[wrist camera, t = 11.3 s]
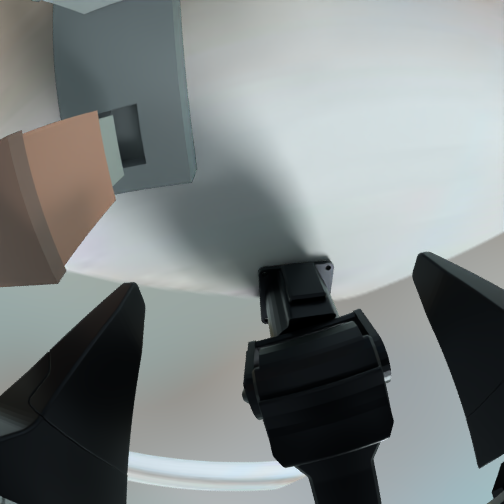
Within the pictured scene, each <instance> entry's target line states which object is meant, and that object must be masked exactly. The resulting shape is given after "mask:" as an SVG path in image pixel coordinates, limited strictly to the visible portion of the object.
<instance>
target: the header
mask: <svg viewBox="0 0 504 504" xmlns="http://www.w3.org/2000/svg"><path fill="white" fill-rule="evenodd" d="M53 52H54V67H55V79H56V88H57V96H58V104H59V111H60V117H61V120H64V119H67V118H71V117H74V116H78V115H81V114H85V113H89V112H93V111H97V112H98V118H99V119H100V118H104V117H107V116H111V115H113V118H114V125H115V130H116V136H117V142H118V147H119V152H120V157H121V162H122V167H123V172H124V176H123V177H122V178H121V179H120V180H119V181H118V182H117V183H116V184H115V185H114V186H112V187H113V191H114V194H120V193H125V192H131V191H137V190H143V189H150V188H156V187H163V186H170V185H177V184H184V183H192V180H193V178H194V175H195V173H196V170H197V166H196V159H195V151H194V143H193V136H192V127H191V119H190V110H189V101H188V92H187V82H186V72H185V61H184V50H183V37H182V24H181V8H180V0H122V1H119V2H116V3H113V4H110V5H107V6H104V7H102V8H99V9H96V10H94V11H91V12H89V13H86V14H82V13H80V12H77V11H74V10H71V9H68V8H65V7H62V6H59V5H56V4H53Z"/></svg>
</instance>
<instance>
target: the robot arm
mask: <svg viewBox="0 0 504 504" xmlns="http://www.w3.org/2000/svg"><path fill="white" fill-rule="evenodd" d="M327 266H329V267H327ZM326 267H327V268H326ZM333 269H334V265H333V264H332V262H331V261H318V262H306V263H296V264H286V265H280V266H270V267H262V268H260V269H259V271H258V277H259V292H260V307H261V320H262V322H263V323H264V324H269V329H270V336H271V338H268V339H264V340H261V341H251V342H249V343H248V351H247V352H246V362H245V372H244V382H243V386H244V390H243V392H242V397H243V400H244V401H245V402H247V403H249V404H250V406H251V409H252V411H253V413H254V415H255V417H256V418H257V419H258V420H261V419H263V422H264V425H265V428H266V431H267V434H268V437H269V441H270V445H271V450H272V454H273V456H274V458H275V459H276V460H277V461H278V462H279V463H280V464H281V465H282V466H283V467H285V468H287V467H293V466H294V467H296V468H297V469H298V470H300V471H301V472H302V473H304V474H305V475H306V476H307V477H308V478H309V481H310V485H311V489H312V493H313V496H314V500H315V504H381V498H380V492H379V486H378V481H377V476H376V471H375V466H374V460H373V458H374V456H375V454H376V451H377V449H378V447H379V445H380V442H381V441H384V440H386V439H389V437H390V435H391V431H392V427H393V423H394V420H393V416H392V413H391V408H390V403H389V397H388V393H387V388H386V383H388V382H390V380H391V368H390V363H389V358H388V355H387V352H386V349H385V346H384V344H383V342H382V340H381V338H380V336H379V334H378V333H377V332H376V330H375V329H374V328H373V326H372V324H371V323H370V322H369V320H368V319H367V317H366V316H365V315H364V313H363V312H362V310H361V309H357V310H354V311H353V312H352V313H349V314H346V315H344V316H341V317H339V315H338V312H337V310H336V307H335V305H334V302H333V300H332V298H331V295H330V293H331V285H332V278H333ZM264 272H266V274H262V273H264ZM412 277H413V281H414V284H415V286H416V289H417V291H418V294H419V296H420V299H421V302H422V304H423V307H424V310H425V313H426V315H427V318H428V320H429V322H430V324H431V326H432V329H433V331H434V333H435V335H436V338H437V340H438V342H439V345H440V347H441V349H442V352H443V354H444V357H445V359H446V362H447V364H448V367H449V369H450V372H451V375H452V378H453V380H454V383H455V386H456V389H457V391H458V395H459V398H460V401H461V404H462V407H463V410H464V413H465V416H466V420H467V424H468V428H469V431H470V435H471V439H472V443H473V447H474V451H475V455H476V460H477V465H478V467H479V468H481V467H483V466H485V465H487V464H488V463H490V462H491V461H493V460H495V459H496V458H498V457H500V456H501V455H503V454H504V289H502V288H500V287H498V286H496V285H494V284H493V283H491V282H489V281H487V280H485V279H483V278H481V277H479V276H478V275H476V274H474V273H472V272H470V271H468V270H466V269H464V268H462V267H460V266H458V265H456V264H454V263H452V262H450V261H448V260H446V259H444V258H442V257H440V256H438V255H435V254H433V253H431V252H422V253H419V254H418V256H417V259H416V263H415V266H414V270H413V274H412ZM266 318H268V319H266ZM144 319H145V303H144V300H143V297H142V295H141V292H140V290H139V287H138V285H137V284H136V283H135V282H130V283H123V284H122V285H121V286H120V287H118V288H117V289H116V290H115V291H114V292H113V293H111V294H110V295H109V296H108V297H107V298H106V299H105V300H103V302H101V303H100V304H99V305H98V306H97V307H96V308H94V309H93V310H92V311H91V312H90V313H89V314H88V315H87V316H86V317H85V318H83V319H82V320H81V321H80V322H79V323H78V324H77V325H76V326H75V327H74V328H72V329H71V331H69V332H68V333H67V334H66V335H65V336H64V337H63V338H62V339H61V340H60V341H59V342H58V343H57V344H56V345H55V346H54V347H53V348H52V349H50V352H47V353H46V354H45V355H44V356H43V357H42V358H41V359H40V360H39V361H38V362H37V363H36V364H35V365H34V366H33V367H32V368H31V369H30V370H29V371H28V372H27V373H25V374H24V375H23V376H22V377H21V378H20V379H19V380H18V381H17V382H15V383H14V384H13V385H12V386H11V387H10V388H8V389H7V390H6V391H5V392H4V393H3V394H2V395H1V396H0V504H126V496H127V471H128V457H129V445H130V434H131V425H132V416H133V408H134V400H135V393H136V386H137V380H138V373H139V367H140V361H141V355H142V346H143V331H144ZM492 494H493V498H494V499H493V500H491V501H490V502H489V503H487V504H504V462H503V463H502V464H501V466H500V470H499V473H498V476H497V479H496V481H495V484H494V487H493V490H492Z"/></svg>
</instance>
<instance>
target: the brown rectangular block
mask: <svg viewBox="0 0 504 504" xmlns="http://www.w3.org/2000/svg"><path fill="white" fill-rule="evenodd" d="M123 176H124V172H123V167H122V162H121V157H120V152H119V147H118V142H117V136H116V130H115V125H114V118H113V115H111V116H107V117H104V118H100V119H99V118H98V112H97V111H93V112H89V113H85V114H81V115H78V116H74V117H71V118H67V119H64V120H61V121H58V122H55V123H52V124H49V125H46V126H43V127H40V128H37V129H34V130H32V131H29V132H26V133H24V134H22V130H21V131H18V132H16V133H13V134H11V135H8V136H6V137H4V138H2V139H1V140H0V287H11V286H28V285H44V284H58V283H59V281H60V279H61V278H62V277H63V275H64V274H65V272H66V269H65V267H64V266H65V264H66V263H67V261H68V260H69V259H70V257H71V256H72V255H73V253H74V252H75V250H76V249H77V248H78V246H79V245H80V244H81V242H82V241H83V240H84V238H85V237H86V236H87V235H88V233H89V232H90V231H91V230H92V228H93V227H94V226H95V224H96V223H97V222H98V221H99V220H100V218H101V217H102V216H103V215H104V214H105V212H106V211H107V210H108V209H109V208H110V206H111V205H112V204H113V203H114V202H115V201H116V198H115V195H114V191H113V187H112V186H114V185H115V184H116V183H117V182H118V181H119V180H120V179H121V178H122V177H123Z"/></svg>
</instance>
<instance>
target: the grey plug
mask: <svg viewBox="0 0 504 504" xmlns="http://www.w3.org/2000/svg"><path fill="white" fill-rule="evenodd" d="M32 1H36V2H39V1H41V0H32ZM43 1H46V2H50V3H53V4H56V5H59V6H62V7H65V8H68V9H71V10H74V11H77V12H80V13H82V14H86V13H89V12H91V11H94V10H96V9H99V8H102V7H104V6H107V5H110V4H113V3H116V2H119V1H122V0H43Z"/></svg>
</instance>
